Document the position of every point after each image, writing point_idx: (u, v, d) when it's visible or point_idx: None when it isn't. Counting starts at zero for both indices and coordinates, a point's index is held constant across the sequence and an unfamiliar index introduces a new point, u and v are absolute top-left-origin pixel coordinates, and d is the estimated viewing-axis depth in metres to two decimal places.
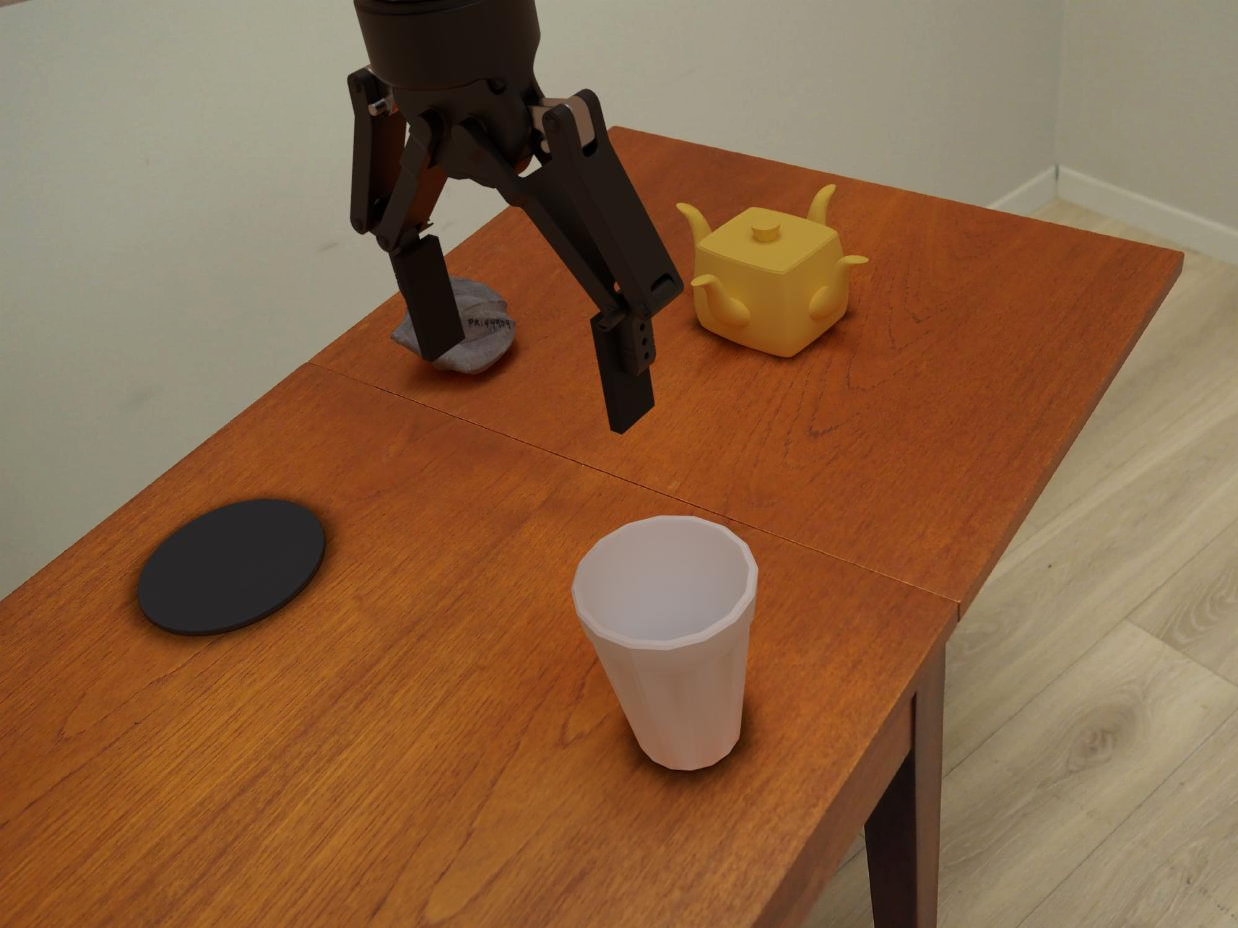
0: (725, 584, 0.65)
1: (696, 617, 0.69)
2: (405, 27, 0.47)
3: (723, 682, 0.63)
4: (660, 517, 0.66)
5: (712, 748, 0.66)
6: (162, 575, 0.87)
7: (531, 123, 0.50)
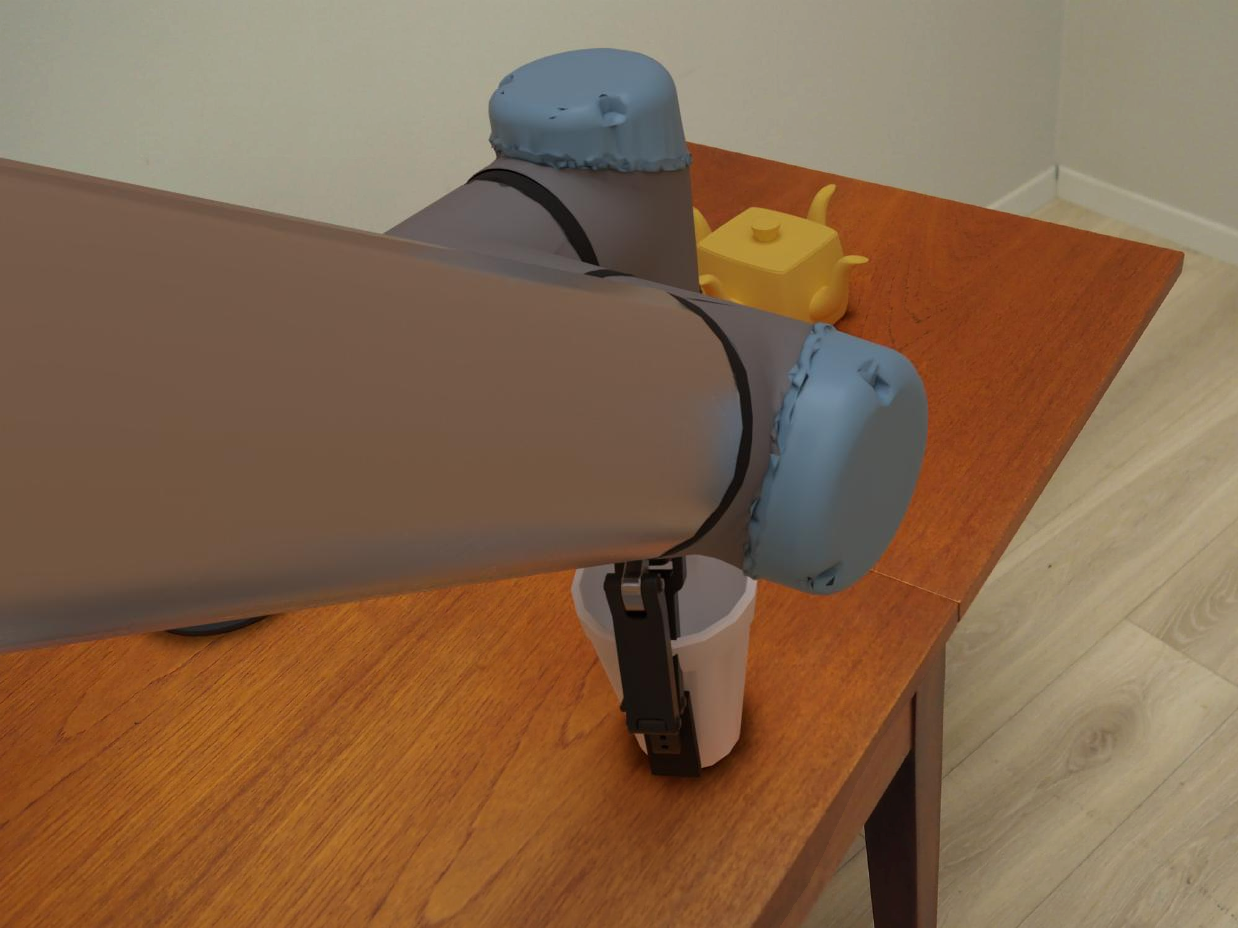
0: (725, 584, 0.65)
1: (696, 617, 0.69)
2: None
3: (723, 682, 0.63)
4: None
5: (712, 748, 0.66)
6: None
7: None
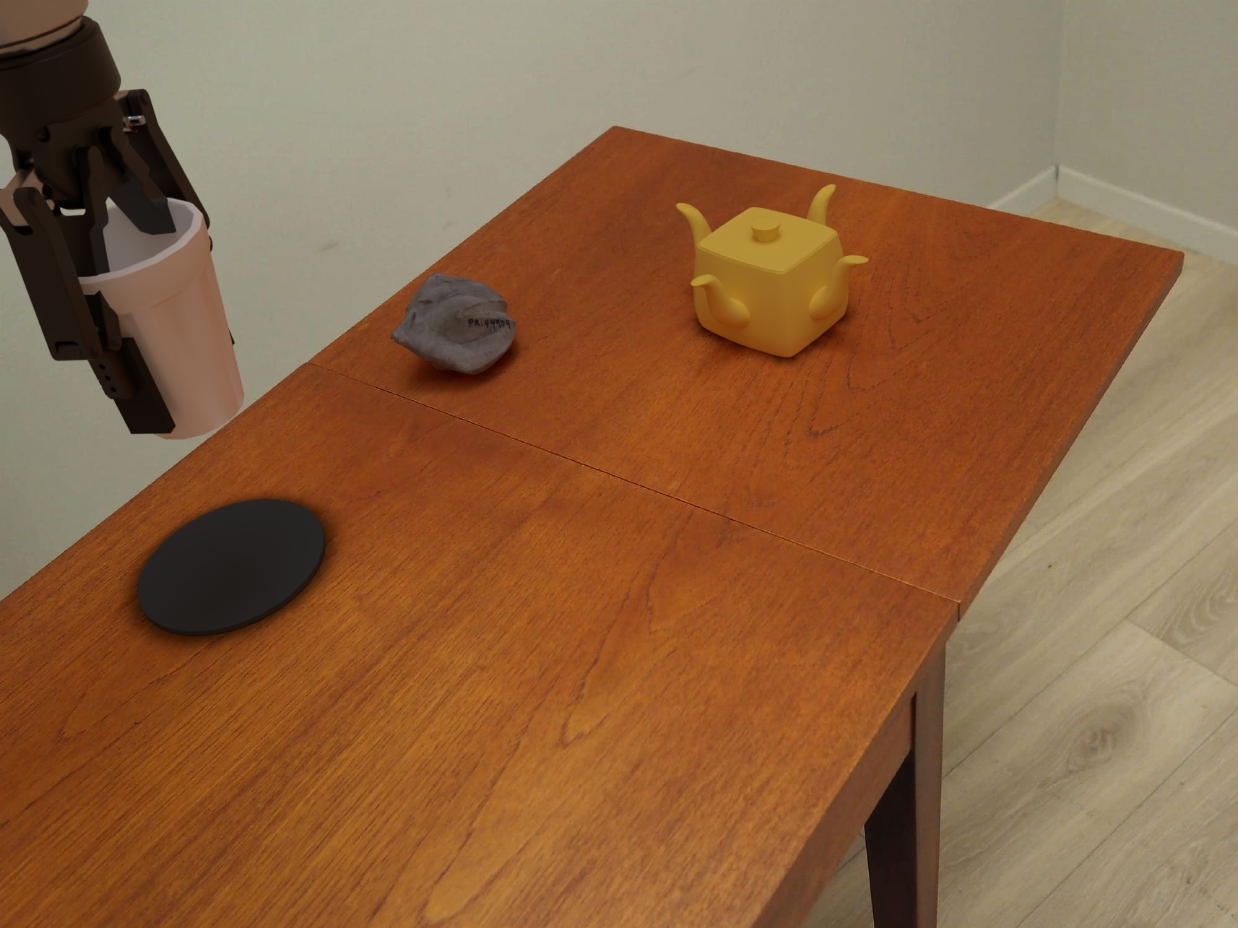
0: None
1: None
2: None
3: (179, 338, 0.69)
4: None
5: (192, 413, 0.73)
6: (162, 575, 0.87)
7: None
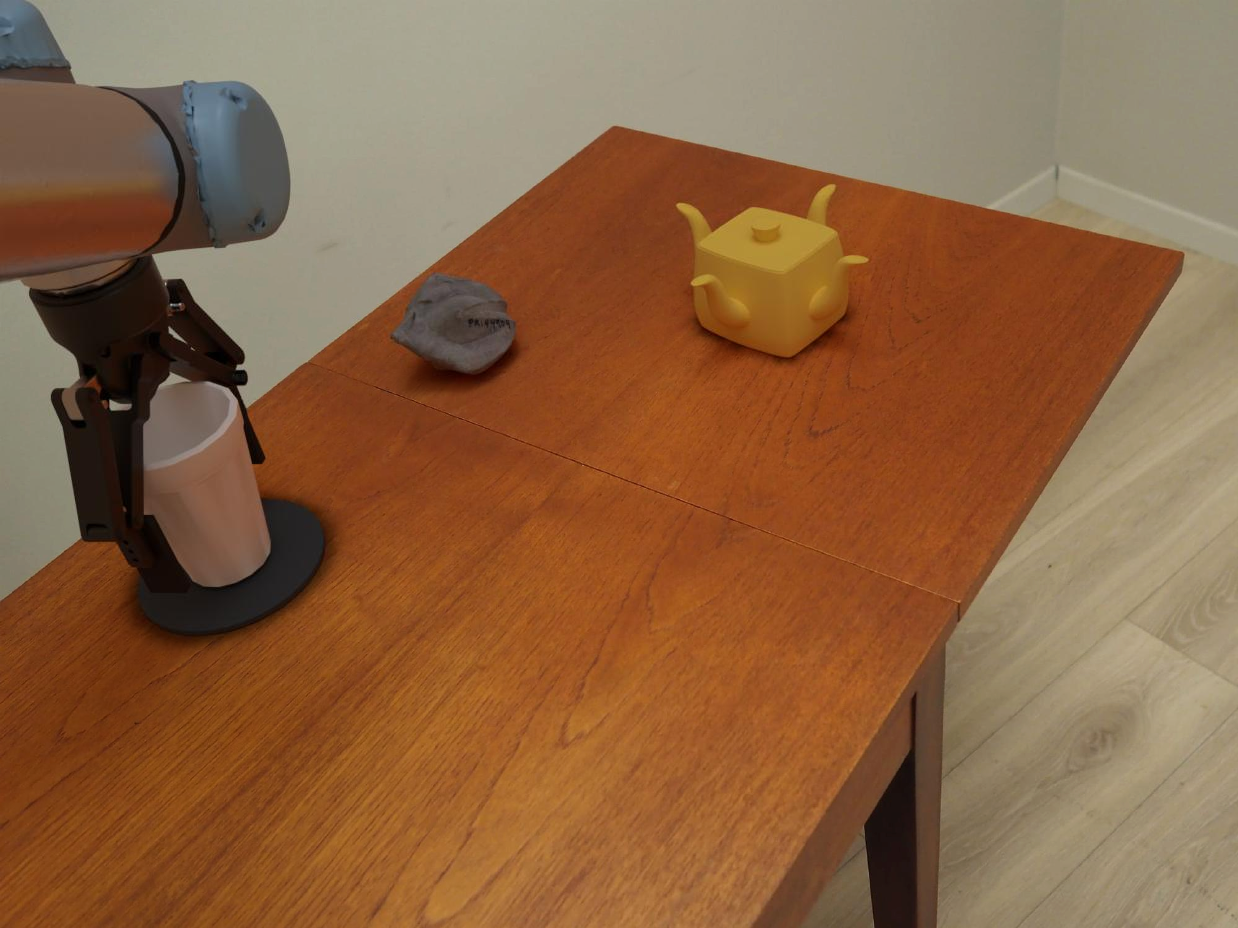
0: None
1: None
2: None
3: (217, 508, 0.80)
4: (183, 382, 0.83)
5: (227, 566, 0.84)
6: None
7: None
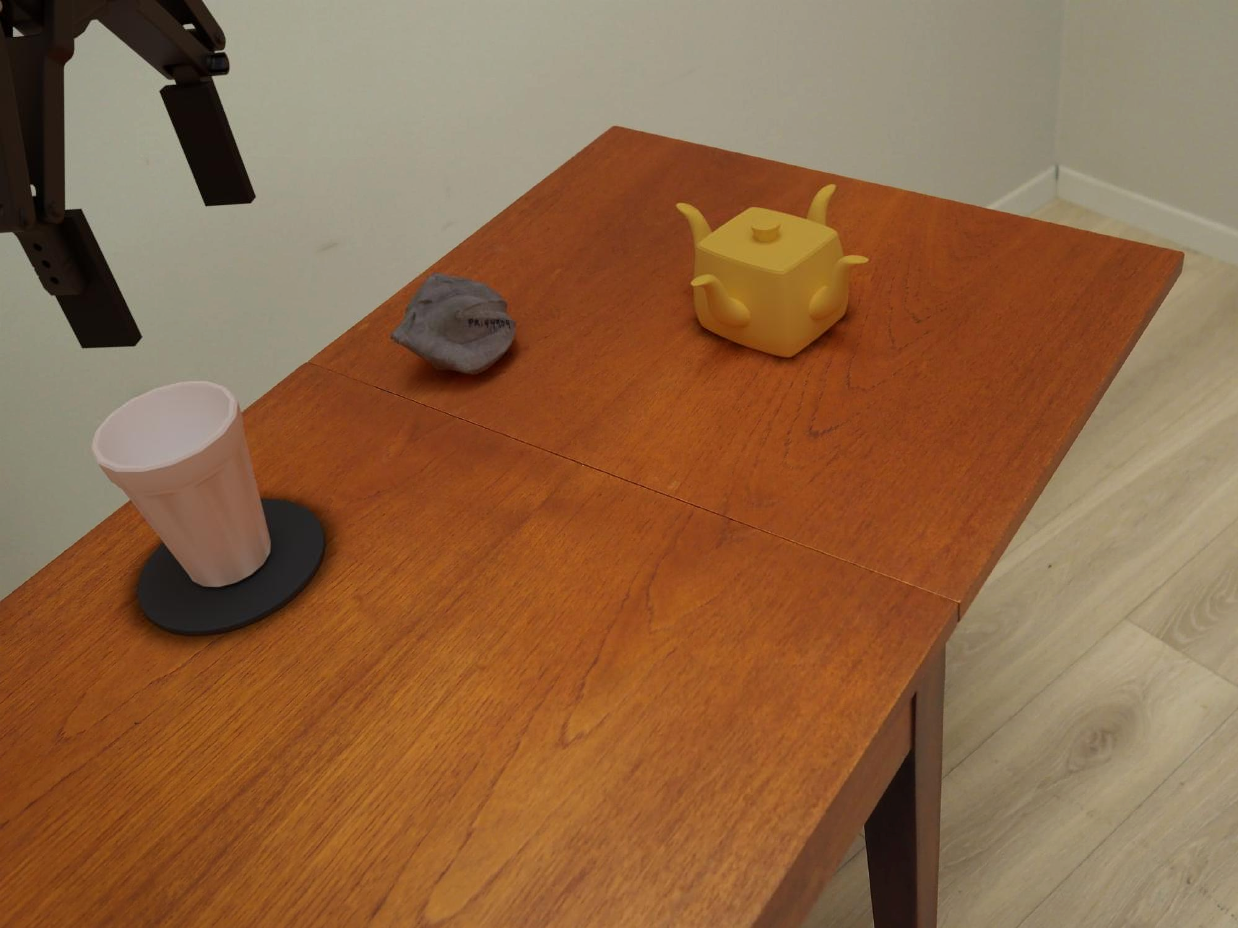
0: None
1: None
2: None
3: (217, 508, 0.80)
4: (183, 382, 0.83)
5: (227, 566, 0.84)
6: (162, 575, 0.87)
7: None
